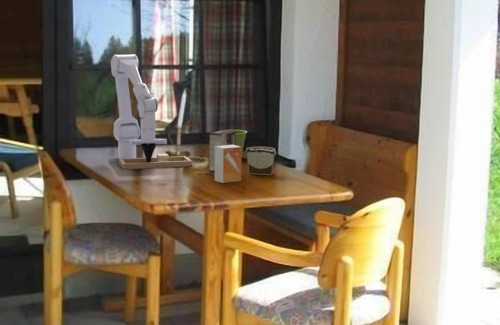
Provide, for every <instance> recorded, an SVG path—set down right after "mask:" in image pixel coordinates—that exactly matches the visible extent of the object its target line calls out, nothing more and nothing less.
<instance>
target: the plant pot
mask: <svg viewBox="0 0 500 325" xmlns="http://www.w3.org/2000/svg"><path fill="white" fill-rule="evenodd" d="M226 130H227V131H234V132H235V139H236V146H240V147H242V153H241V158H242V156H243V150H244V147H245V146H244V145H245V139H246V137H247V136H246V135H247V133H248V131H247V130H242V129H226Z"/></svg>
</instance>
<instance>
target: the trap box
mask: <svg viewBox="0 0 500 325" xmlns="http://www.w3.org/2000/svg"><path fill="white" fill-rule="evenodd" d="M118 160H119V162H118V163H119V166H120V167H121V168H122V169H123V170H133V169H135V170H136V169H159V168H176V167H177V168H178V167H192V166H193V164H192V163H193V160H192V159H190V158H189V157H187V156H186V155H180V156H169V162H157V156H155V157H153V156H152V158H151V162H146V157H136V158H128V159H119V158H118Z"/></svg>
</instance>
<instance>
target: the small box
mask: <svg viewBox="0 0 500 325" xmlns="http://www.w3.org/2000/svg"><path fill="white" fill-rule="evenodd" d="M241 153H242V154H243V152H242V147H240V146H236V145H223V146H215V171H214V172H215V174H214V181H215V182H217V183H222V184H225V183H235V182H238V183H239V182H242V157H241Z"/></svg>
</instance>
